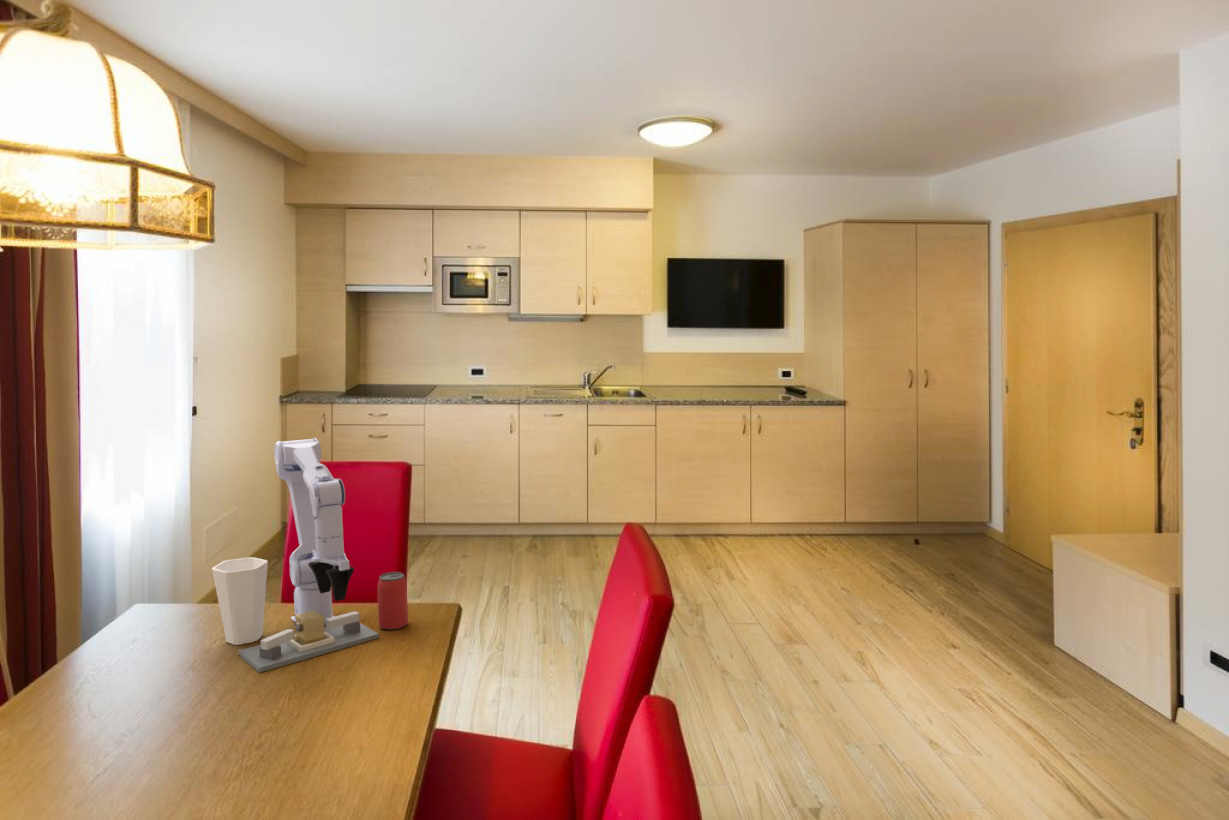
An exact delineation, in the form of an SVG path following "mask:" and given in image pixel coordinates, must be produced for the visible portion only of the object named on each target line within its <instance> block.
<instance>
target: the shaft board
mask: <svg viewBox="0 0 1229 820" xmlns="http://www.w3.org/2000/svg"><path fill="white" fill-rule="evenodd" d="M334 616H335V615H334ZM324 637H325V639H324V640H321V641H317V642H313V643H310V644H306V645H303V646H302V645H300V644H299V643H298V642H296V634H295V630H294V629H291V628H287V629H284V630H282V631H280V632H278V633H275V634H272V635H270V636H267V637H265V638H263V639H260V644H257V645H254V646H251V647H246V648H242V649H239V650H238V656H239V655H240V656H241V657H242V658H241V657H240V658H241V659H243V660H244V661H245V662H246V663H247V664H248V665H250V666H251V668H253V669H254V671H255V670H256V671H257V673H264V672H267V671H270V670H273V669H277V668H280V667H284V666H287V665H290V664H294V663H295V664H296V663H299V662H301V661H304V660H307V659H312V658H314V657H318V656H321V655H326V654H328V653H332V652H334V651H335V652H336V651H339V650H342V649H345V648H350V647H353V646H357V645H360V644H363V643H367V642H369V640H370V641H373V640H372V639H374V640H377V639H379V638H380V634H379V633H378V632H377V631H376V630H373V629H371V628H369V627H368V626H366V625H365V624H363V623H362V622H360V613H359V612H358V611H356V610H355V611H351V612H347V613H342V614H339V615H336V616H335V617H331V618H327V619H326V625H325V626H324ZM376 638H377V639H376ZM366 641H367V642H366Z"/></svg>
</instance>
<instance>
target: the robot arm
mask: <svg viewBox="0 0 1229 820" xmlns="http://www.w3.org/2000/svg"><path fill="white" fill-rule="evenodd" d="M273 447H274V448H273V455H274V463H275V469H276V473H277V475H278V478H279V479H281V480H283V481H285V483H286V484H287V487H288V490H289V496H290V501H291V508H292V511H293V517H294V518H293V519H294V523H295V529H296V533H297V539H298V545H299V546H298V547H297V548H296V549H295V550H294V551H292V553H291V554H290V556H289V560H288V561H289V577H290V580H291V583H292V585H293V587H295V588H294V592H293V601H294V603H293V604H294V616H291V617H290V620H292V621H293V622H295V623H296V621H295V615H298V614H302V613H306V612H310V611H314V610H316V611H317V612H319V613H320V614H322V615H324V626H326V619H327V618H331V617H335V615H334V614H333V599H334V601H335V602H340V601H343V600H346V596H347V591H348V587H349V583H350V580H351V577H352V576H353V574H354V572H355V568H354V567H353V566H350V560H349V559H348V558H347V556H346V553H345V547H344V545H345V544H344V543H345V542H344V525H343V507H342V506H344V505H345V502H346V491H345V485H344V483H343V482H344V481H342V478H334V476H333V475H332V473H331V472H330V469H328V467H327V466H326V465H325V464H323V463H321V459H322V446H321V443H320V441H319V440H318V438H316V437H312V438H310V439H309V438H308V439H298V440H295V439H294V440H285V441H281V440H278V441H276V443H275V444H274V446H273Z"/></svg>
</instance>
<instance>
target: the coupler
mask: <svg viewBox="0 0 1229 820" xmlns="http://www.w3.org/2000/svg"><path fill="white" fill-rule="evenodd" d="M294 616H295V621H296V622H295V621H294V622H295V624H294V628H295V635H296V642H298V643H299V644H300V645H302V646H303V645H306V644H310V643H313V642H317V641H321V640H324V639H325V637H324V628H325V625H324V615H322V614H320V613H319V612H317V611H316V610H314V611H310V612H306V613H302V614H298V615H295V614H294Z"/></svg>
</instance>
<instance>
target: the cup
mask: <svg viewBox="0 0 1229 820" xmlns="http://www.w3.org/2000/svg"><path fill="white" fill-rule="evenodd" d="M268 562H269V561H268V560H267V559H262V558H258V557H254V556H253V557H249V556H248V557H241V558H234V559H233V558H232V559H226V560H223V561H221V562H220V563H218V564H216V565H215V566H213V567H212V568H211V571H212V576H213V582H214V587H215V592H216V595H217V596H216V597H217V601H218V606H219V612H220V615H221V621H222V622H221V623H222V626H223V630H224V631H223V632H224V637H225V642H226V643H227V642H228V643H229V644H230V643H231V645H233V644H234V645H233V646H236V645H237V646H239V645H246V644H249V643H251V644H252V643H254V641H255V642H257V641H258V640H260V638H261V636H262V637H263V632H264V631H263V629H264V616H265V603H266V591H267V590H266V589H267V576H268ZM245 643H246V644H245Z"/></svg>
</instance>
